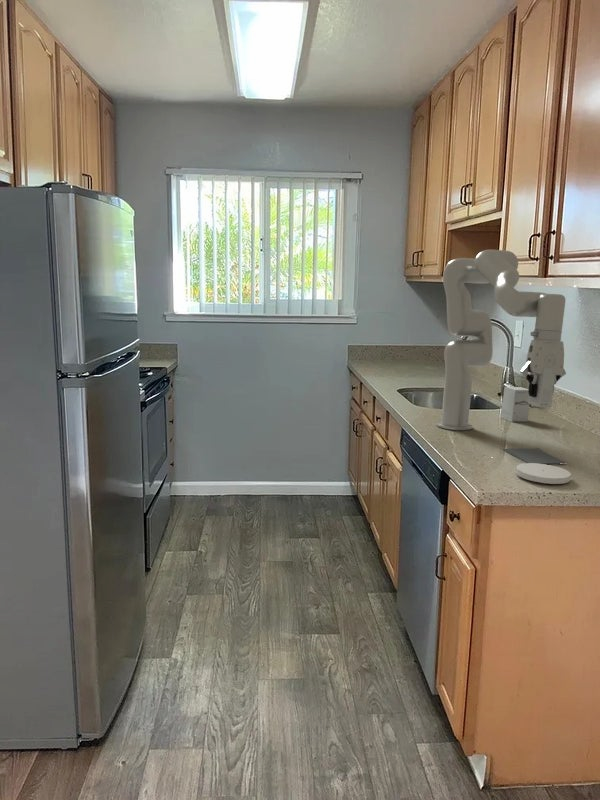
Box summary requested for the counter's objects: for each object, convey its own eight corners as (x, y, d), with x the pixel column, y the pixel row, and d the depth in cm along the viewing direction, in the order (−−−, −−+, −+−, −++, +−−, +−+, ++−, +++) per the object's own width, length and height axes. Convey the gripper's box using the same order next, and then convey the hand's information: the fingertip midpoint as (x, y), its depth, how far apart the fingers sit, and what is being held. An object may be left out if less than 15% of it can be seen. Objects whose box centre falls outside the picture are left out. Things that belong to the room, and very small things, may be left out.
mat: (503, 450, 203) (503, 448, 203) (537, 449, 205) (538, 448, 205) (529, 464, 188) (529, 463, 187) (566, 464, 190) (566, 462, 190)
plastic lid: (504, 475, 177) (505, 466, 177) (538, 469, 184) (539, 460, 184) (546, 490, 166) (547, 481, 165) (580, 483, 173) (582, 474, 172)
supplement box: (511, 422, 245) (515, 389, 243) (500, 418, 252) (503, 386, 250) (528, 421, 247) (531, 389, 245) (516, 417, 254) (520, 386, 252)
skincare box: (551, 407, 191) (556, 367, 189) (539, 407, 190) (544, 367, 188) (539, 403, 197) (543, 364, 195) (527, 403, 196) (531, 364, 193)
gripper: (527, 336, 184) (520, 398, 188) (580, 338, 187) (573, 399, 191) (514, 334, 192) (508, 393, 195) (566, 335, 194) (558, 394, 198)
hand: (540, 395), depth 193 cm, fingers closed on skincare box, 4 cm apart
